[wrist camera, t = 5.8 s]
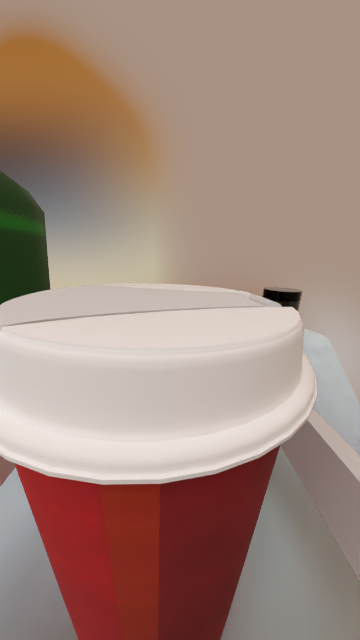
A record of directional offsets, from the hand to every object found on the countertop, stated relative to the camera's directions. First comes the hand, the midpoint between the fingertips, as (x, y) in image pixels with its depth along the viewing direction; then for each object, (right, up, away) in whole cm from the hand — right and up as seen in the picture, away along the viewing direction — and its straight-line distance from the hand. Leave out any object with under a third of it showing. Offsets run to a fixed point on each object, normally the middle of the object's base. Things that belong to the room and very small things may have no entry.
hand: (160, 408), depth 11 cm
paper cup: (0, -8, -1) cm, 8 cm away
